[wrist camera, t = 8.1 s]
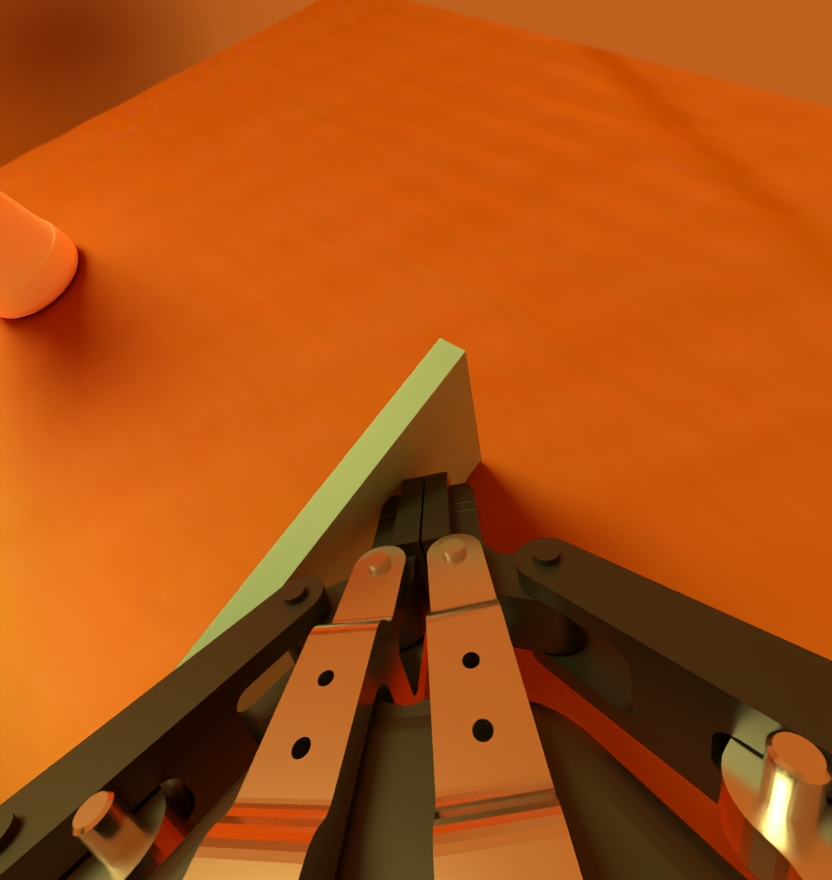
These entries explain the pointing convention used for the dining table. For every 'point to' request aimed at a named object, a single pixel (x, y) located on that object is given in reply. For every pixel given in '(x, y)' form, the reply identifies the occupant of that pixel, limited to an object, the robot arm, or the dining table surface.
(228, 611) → the door
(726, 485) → the dining table surface
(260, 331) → the dining table surface
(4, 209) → the vodka
